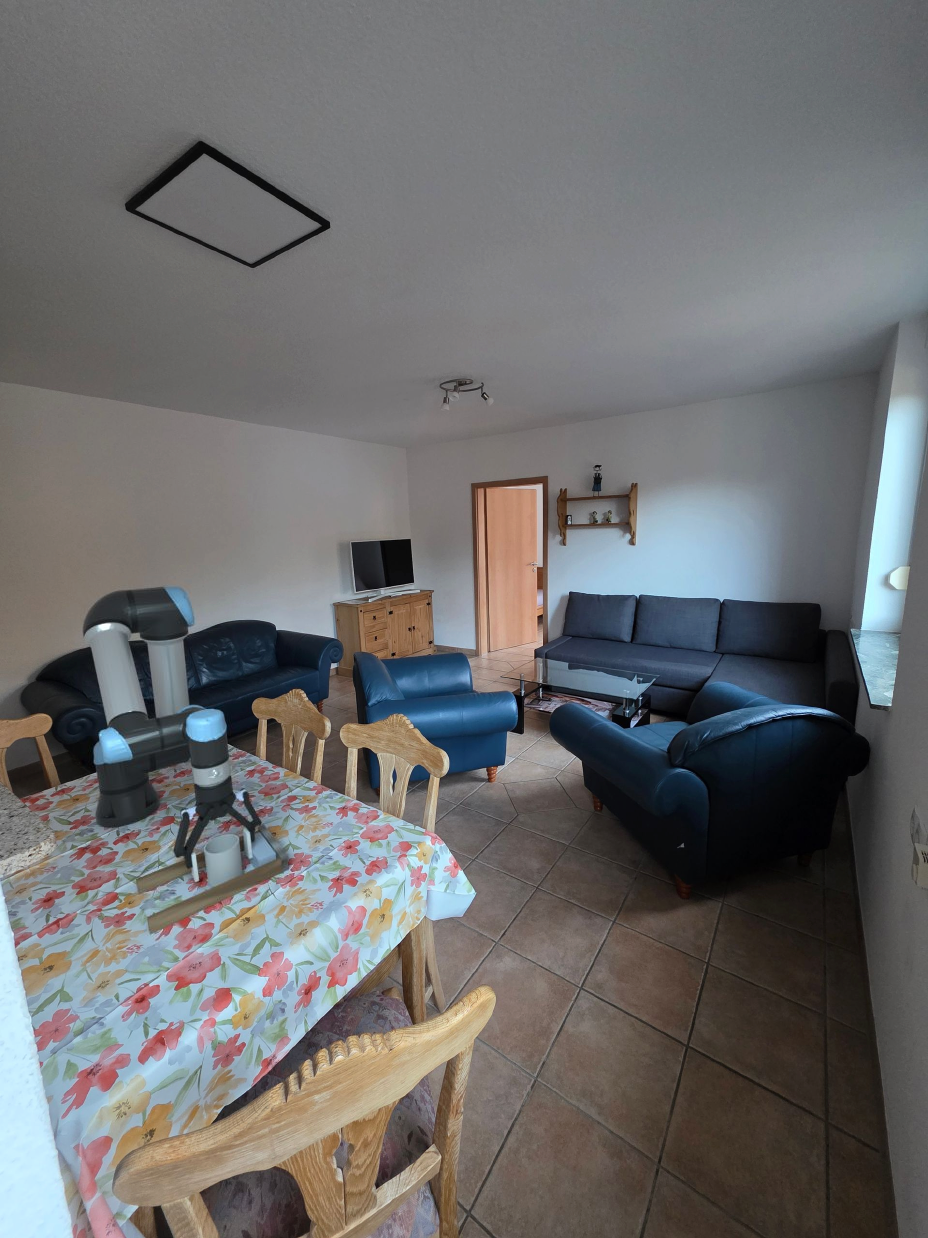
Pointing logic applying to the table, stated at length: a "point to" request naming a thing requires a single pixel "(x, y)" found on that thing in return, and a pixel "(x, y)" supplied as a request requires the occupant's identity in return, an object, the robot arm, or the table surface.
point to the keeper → (260, 851)
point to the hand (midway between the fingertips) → (223, 866)
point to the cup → (222, 859)
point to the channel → (212, 894)
